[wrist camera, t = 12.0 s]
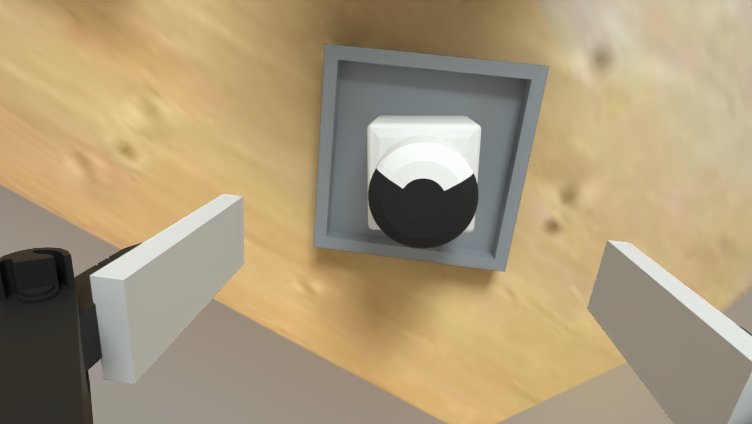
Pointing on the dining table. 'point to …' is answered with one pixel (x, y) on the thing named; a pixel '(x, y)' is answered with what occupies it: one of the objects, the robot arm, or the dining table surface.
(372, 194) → the medicine bottle
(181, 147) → the dining table surface
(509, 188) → the tray
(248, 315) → the dining table surface
